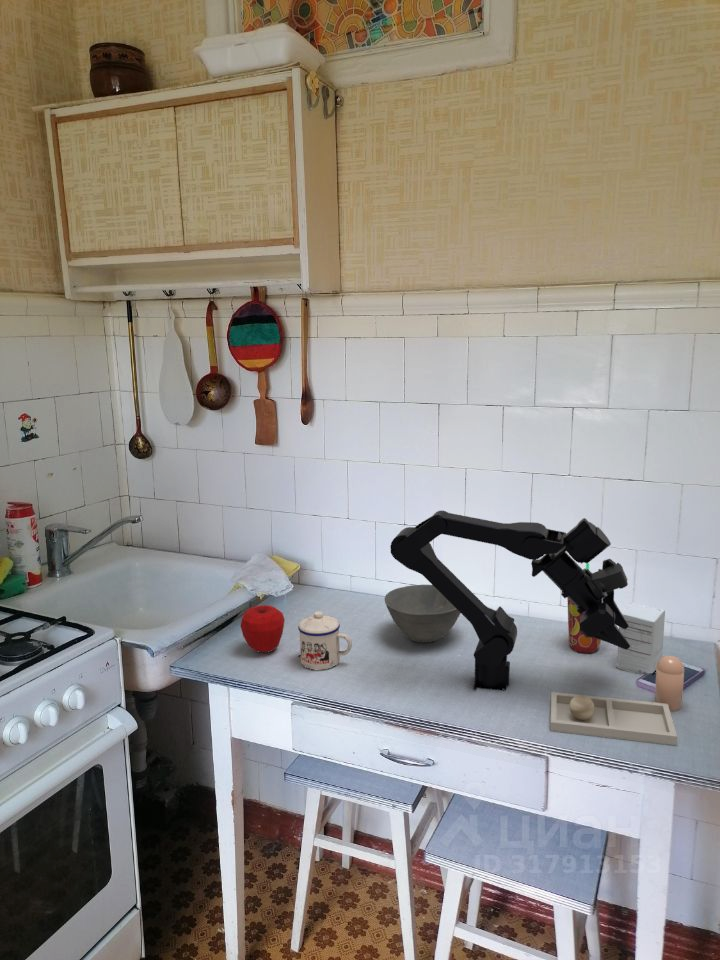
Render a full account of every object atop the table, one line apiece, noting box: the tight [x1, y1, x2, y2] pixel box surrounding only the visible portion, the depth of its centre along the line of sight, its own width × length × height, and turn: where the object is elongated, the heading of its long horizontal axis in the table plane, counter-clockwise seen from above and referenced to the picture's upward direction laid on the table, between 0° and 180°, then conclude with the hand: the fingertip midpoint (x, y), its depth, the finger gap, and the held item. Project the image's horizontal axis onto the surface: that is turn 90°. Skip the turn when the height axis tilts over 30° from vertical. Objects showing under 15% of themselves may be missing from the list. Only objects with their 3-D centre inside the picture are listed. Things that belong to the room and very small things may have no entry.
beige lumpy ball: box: [570, 694, 594, 720], centre depth 133 cm, size 4×4×4 cm
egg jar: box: [653, 655, 685, 712], centre depth 136 cm, size 5×5×10 cm
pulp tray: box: [549, 691, 678, 746], centre depth 132 cm, size 21×11×2 cm, turn 75°
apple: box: [240, 604, 285, 653], centre depth 165 cm, size 10×10×11 cm
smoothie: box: [566, 562, 601, 654], centre depth 160 cm, size 8×8×20 cm
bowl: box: [384, 584, 461, 644], centre depth 169 cm, size 19×19×10 cm
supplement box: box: [616, 602, 666, 675], centre depth 152 cm, size 7×7×13 cm
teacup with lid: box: [297, 611, 353, 670], centre depth 158 cm, size 12×9×12 cm
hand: (627, 637), depth 137 cm, fingers open, 9 cm apart
